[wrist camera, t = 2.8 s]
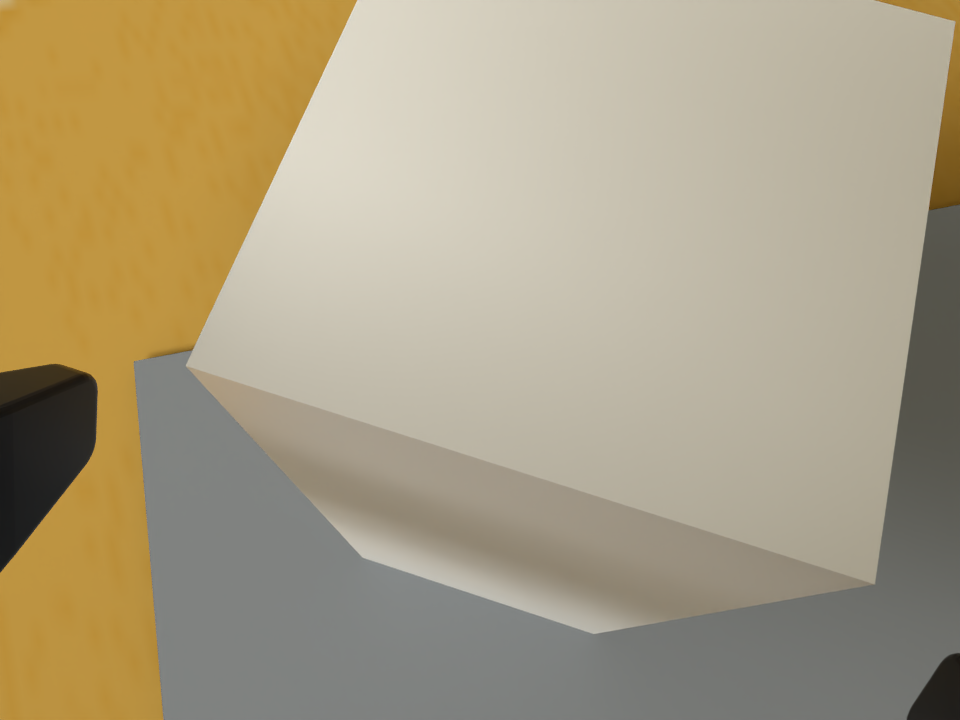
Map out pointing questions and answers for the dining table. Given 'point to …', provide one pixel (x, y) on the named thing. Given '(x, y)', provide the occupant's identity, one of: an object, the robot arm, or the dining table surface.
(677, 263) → the tall white pillar
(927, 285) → the mat
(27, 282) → the dining table surface
